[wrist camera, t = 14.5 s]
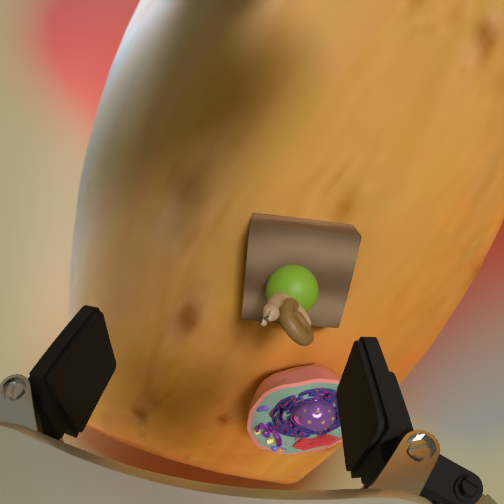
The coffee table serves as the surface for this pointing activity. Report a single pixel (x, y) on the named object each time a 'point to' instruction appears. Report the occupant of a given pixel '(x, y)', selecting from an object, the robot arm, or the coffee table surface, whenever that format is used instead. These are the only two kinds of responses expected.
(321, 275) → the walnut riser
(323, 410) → the cell model
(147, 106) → the coffee table surface
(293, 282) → the snail figurine
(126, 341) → the coffee table surface
